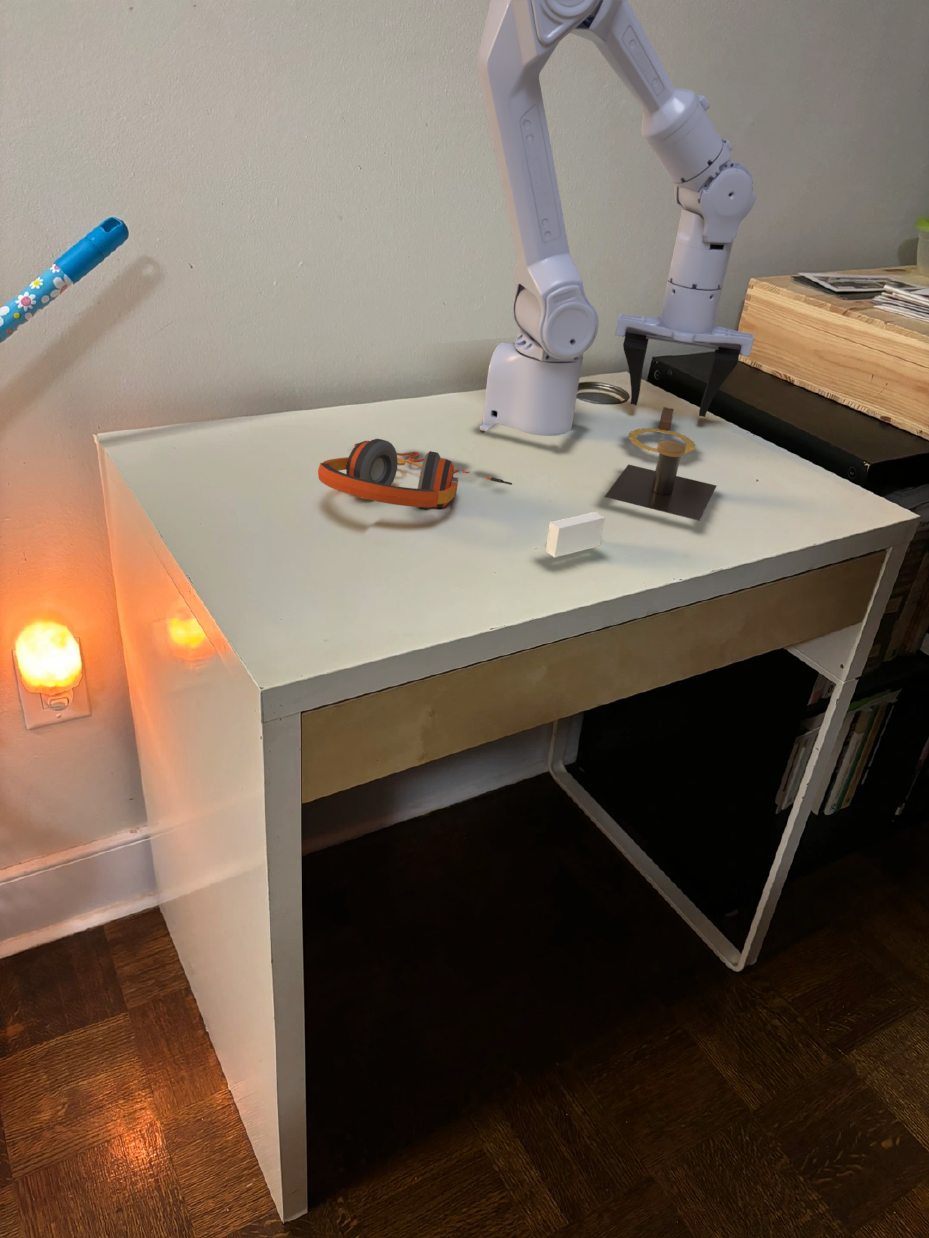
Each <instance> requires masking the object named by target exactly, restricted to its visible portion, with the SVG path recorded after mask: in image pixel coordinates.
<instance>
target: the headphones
mask: <svg viewBox="0 0 929 1238" xmlns="http://www.w3.org/2000/svg"><path fill="white" fill-rule="evenodd" d="M419 455H420V453H419V452H418V451H412V452H405V453H404V452H403V453H400V452H397V451H396V448H395V446H394V445H393V443H392V442H390V441H389V440H385V439H382V438H373V439H371V440H363V441H361V442H357V443H354V444H353V448H352V450H351V451H350V453H349V456H346V457H337V458H331V459H326V460H324V461H323V462H320V463H319V466H318V468H317V476H318V477H317V478H318V480H319V481H320V483H322V484H323V485H325V486H327V487H329V488H331V489H333V490H335V491H337V492H338V491H339V492H341V493H343V494H347V495H349V496H354V497H357V498H361V499H365V500H369V501H374V502H377V503H383V504H384V503H385V504H390V505H395V506H396V505H397V506H402V507H403V506H405V507H414V508H418V509H422V510H430V509H433V508H434V509H444V508H446V507H447V506H448V504H449V503H450V502H451V501H452V500H453V499H454V497H455V496H456V495H457V490H458V485H459V477H456V476H454V475H455V473H457V472H458V471H459V470H460V469H459V468H457V469H455V465H454V464H453V461H451V460H449V459H447V458H442V457H441V455H440V454H439V452H437V451H432V450H429V451H428V452H427V453H426V454H425V456H424V457H423V458H421V459H415V458H416V457H418V456H419ZM399 456H400V457H404V456H405V457H406V456H408V460H407V459H403V458H400V457H399ZM420 463H422V464H420ZM406 464H410V465H414V466H417V467H419V468H421V469H420V473H419V478H418V484H417V488H415V487H405V486H399V485H398V486H397V485H392V484H393V483H394V481H395V478H396V476H397V472H398V466H405V465H406ZM342 471H345V473H344V472H342ZM461 472H462V474H469V473H470V471H465V470H464V469H462V470H461ZM485 478H486V479H487V480H490V481H491V482H496V483H500V484H506V485H509V486H510V485H511V486H512V485H513V483H512V482H510V481H505V480H504V479H501V478H497V477H489V476H487V475H485Z"/></svg>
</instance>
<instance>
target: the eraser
mask: <svg viewBox="0 0 929 1238" xmlns="http://www.w3.org/2000/svg"><path fill="white" fill-rule="evenodd" d="M605 520H606V517H605V516H603V515H602V514H601V513H598V512H597V511H592V512H587V513H583V514H579V515H573V516H571V517H566V518H562V519H558V520H553V521H549V526H548V532H547V539H546V545H545V552H546V553H548V555H550V556H552V557H553V558H558V557H561V556H566V555H570V554H574V553H577V552H582V551H586V550H590V549H594V548H597V547H598V548H599V547H601V540H602V535H603V530H604V523H605Z"/></svg>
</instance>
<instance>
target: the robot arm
mask: <svg viewBox="0 0 929 1238" xmlns="http://www.w3.org/2000/svg"><path fill="white" fill-rule="evenodd" d="M569 34H573V35H574V36H577V37H580V38H584V39H585V40H588V41H589V42H592V43H593V45H595V46H596V48H597V49H598V51H599V52H600V53H601V55H602V56H603V58H604V59H605V61H606V62H607V63H608V65H609V66H610V68H611V69H612V70H613V72H614V73H615V74H616V76H617V77H618V79H619V80H620V82H622V84H623V85H624V87H625V88H626V90H627V92H629V94H630V95H631V97H632V98H633V100H634V101H635V102H636V103H637V105H638V106H639V108H640V109H641V110H642V118H641V127H640V134H641V136H642V138H643V139H644V141H645V142H646V144H647V145H648V146H649V148H650V150H651V151H652V153H653V154H654V156H655V157H656V159H657V160H658V162H659V164H660V165H661V166H662V168H663V170H664V171H665V172H666V174H667V176H668V177H669V179H670V181H671V182H672V183H673V196H674V201H675V203H676V204H677V205H679V206H680V207H681V213H680V218H679V222H678V227H677V232H676V235H675V243H674V247H673V253H672V257H671V262H670V266H669V271H668V277H667V280H666V281H667V282H666V285H665V290H664V291H665V292H664V297H663V301H662V307H661V312H660V316H650V315H648V316H647V315H636V314H635V315H634V314H625V313H619V315H618V317H617V322H616V328H615V333H614V334H615V336H616V337H622V338H623V337H624V340H623V343H622V347H623V353H624V355H625V359H626V363H627V367H628V368H627V369H628V373H629V380H630V405H633V406H637V405H638V402H639V398H640V392H641V387H642V386H641V384H642V377H643V369H644V364H645V358H646V353H647V349H648V345H649V340H654V341H658V342H664V343H673V344H678V345H684V346H685V345H686V346H690V347H698V348H704V349H710V350H714V353H713V358H712V362H711V365H710V366H711V367H710V370H709V375H708V379H707V383H706V385H705V389H704V392H703V395H702V398H701V402H700V406H699V413H698V417H702V418H705V417H706V415H707V412H708V410H709V408H710V406H711V404H712V402H713V399H714V398H715V396H716V394H717V392H718V390H720V388H721V386H722V385H723V383H724V382H725V381H726V379H727V378H728V377H729V376H730V374H731V373H732V372H733V371H734V369H735V368H736V366H737V365H738V363H739V358H740V356H744V357H750V356H751V352H752V349H753V345H754V340H755V334H754V333H749V332H743V331H739V330H734V329H730V328H726V327H723V326H719V325H715V320H716V317H717V311H718V308H719V303H720V299H721V295H722V290H723V286H724V282H725V279H726V275H727V270H728V266H729V260H730V256H731V252H732V248H733V243H734V239H735V238H737V234H738V229H739V226H740V224H741V222H742V221H743V220H744V219H745V218H747V216H748V215H749V213H750V212H751V211H752V209H753V207H754V205H755V202H756V199H757V194H755V193H754V187H753V186H754V185H753V184H754V181H753V177H752V174H751V172H750V170H749V169H748V168H747V166H745V165H744V164H743V163H742V162H738V161H735V160H732V158H731V157H732V155H731V151H732V150H733V145H732V144H731V142H730V141H729V139H725V138H722V136H721V135H720V133H719V131H718V129H717V127H716V126H715V124H714V123H713V121H712V120H711V118H710V117H709V115H708V112H707V111H708V109H710V108H711V104H710V102H709V101H708V99H707V97H706V96H705V95H702V94H696V92H695V91H694V90H692V89H691V88H685V87H683V88H681V87H680V88H679V87H676V88H675V85H674V84H673V82H672V80H671V79H670V77H669V74H668V73H667V71H666V69H665V67H664V65H663V63H662V61H661V60H660V58H659V55H658V54H657V52H656V50H655V48H654V46H653V45H652V43H651V41H650V39H649V38H648V35H647V33H646V32H645V29H644V28H643V26H642V24H641V22H640V20H639V19H638V17H637V15H636V13H635V11H634V9H633V7H632V5H631V3H630V2H629V0H490V2H489V7H488V11H487V14H486V19H485V23H484V28H483V31H482V35H481V40H480V44H479V47H478V51H477V59H476V65H477V67H476V68H477V73H478V79H479V83H480V88H481V93H482V98H483V102H484V106H485V111H486V117H487V122H488V126H489V131H490V136H491V140H492V146H493V150H494V154H495V158H496V159H495V160H496V165H497V168H498V174H499V179H500V183H501V188H502V193H503V198H504V202H505V207H506V212H507V216H508V221H509V226H510V230H511V236H512V240H513V245H514V250H515V256H516V260H517V262H516V264H515V267H514V269H513V272H512V275H513V281H514V295H513V299H512V303H511V314H512V317H513V320H514V322H515V324H516V326H517V327H518V328H519V331H518V334H517V337H516V340H515V342H508V341H502V342H499V344H497V346H496V347H495V348H494V351H493V353H492V355H491V357H490V362H489V366H488V370H487V379H486V385H485V386H486V387H485V398H484V406H483V416H482V424H480V425H479V430H480V431H482V432H488V431H489V429H491V428H492V427H493V426H494V425H500V426H504V427H507V428H510V429H514V430H516V431H519V432H521V433H524V434H529V435H533V436H540V437H541V436H542V437H554V436H555V437H556V436H561V435H565V434H568V433H570V431H571V430H573V424H574V423H573V422H574V416H575V409H576V405H577V404H576V403H577V397H578V391H579V384H580V378H581V371H582V365H583V359H584V353H586V351H588V350H589V349H590V348H591V346H592V345H593V343H594V342H595V339H596V338H597V335H598V332H599V326H600V325H599V323H600V321H599V315H598V312H597V310H596V308H595V306H594V305H593V304H592V303H591V301H590V300H589V298H588V297H587V294H586V292H585V289H584V281H583V279H582V277H581V275H580V272H579V270H578V268H577V266H576V265H575V262H574V260H573V258H572V256H571V253H570V247H569V242H568V241H569V240H568V236H567V230H566V225H565V218H564V214H563V207H562V203H561V196H560V191H559V186H558V185H559V184H558V179H557V173H556V168H555V167H556V166H555V164H554V163H555V162H554V156H553V150H552V145H551V139H550V133H549V128H548V122H547V121H548V120H547V116H546V111H545V105H544V99H543V93H542V88H541V82H540V74H541V72H542V70H543V68H544V67H545V66H546V64H547V62H548V61H549V59H550V58H551V56H552V54H553V53H554V51H555V50H556V48H557V47H558V45H559V43H560V42H561V41H562V40H563V39H564V38H565V37H566V36H568V35H569Z"/></svg>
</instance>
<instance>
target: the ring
mask: <svg viewBox="0 0 929 1238" xmlns="http://www.w3.org/2000/svg"><path fill="white" fill-rule="evenodd" d="M674 410H675V409H674V408H670V407H665V406H664V407H662V410H661V415H660V420H659V425H658V428H655V427H651V428H649V427H648V428H647V427H646V428H644V427H643V428H642V427H641V428H637V429H634V430H631V431H630V432H629V433H628V436H627V439H628V440H629V441H630V442H631V443H632V444H633V445H634V446H636V447H638V448H640V449H643V450H646V451H648V452H652V453H656V454H657V453H658V454H659V452H658V451H657V448H654V447H651V446H649V445H646V444H644V443H642V442H641V441H640V440H639V439H638V437H639V435H642V434H644V433H656V432H657V433H662V434H667V435H671V436H674V437H676V438H679V439H681V441H683V442H684V443H685V447H686V450H685V454H684V455H686V454H689V453H692V452H694V450H695V449H696V443H695V441H693V440H692V439H691V438H689V437H688V436H686V435H684V434H682V433H679V432H676V431H672V430H671V425H672V420H673V415H674Z"/></svg>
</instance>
